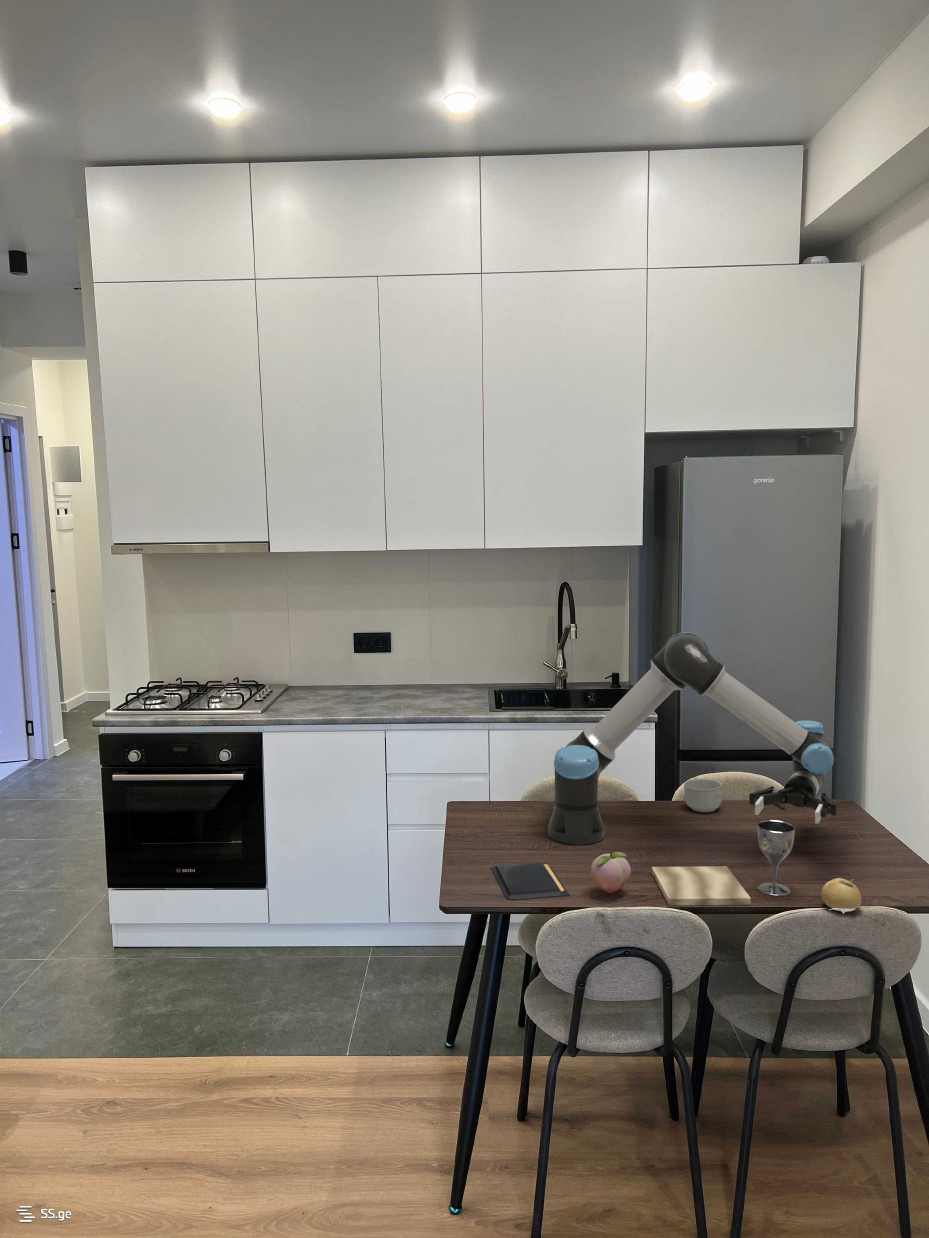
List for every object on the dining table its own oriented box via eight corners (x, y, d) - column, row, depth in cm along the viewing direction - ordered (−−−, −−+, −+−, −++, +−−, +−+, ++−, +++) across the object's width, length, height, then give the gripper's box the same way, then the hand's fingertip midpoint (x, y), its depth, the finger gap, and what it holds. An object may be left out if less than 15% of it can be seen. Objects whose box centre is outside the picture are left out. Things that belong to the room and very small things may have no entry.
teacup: (723, 816, 249) (723, 789, 248) (684, 814, 251) (684, 787, 250) (719, 801, 262) (719, 775, 262) (682, 799, 265) (682, 773, 264)
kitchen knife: (749, 791, 275) (749, 781, 275) (753, 791, 276) (753, 781, 275) (782, 808, 253) (782, 798, 253) (786, 808, 253) (786, 798, 253)
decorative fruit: (607, 881, 204) (607, 840, 203) (636, 891, 198) (636, 849, 197) (582, 893, 198) (582, 851, 197) (611, 904, 192) (611, 860, 191)
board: (668, 905, 191) (669, 898, 191) (651, 872, 209) (651, 866, 209) (750, 904, 191) (750, 898, 191) (726, 872, 209) (726, 866, 209)
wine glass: (798, 896, 195) (800, 832, 193) (762, 896, 195) (764, 832, 194) (785, 882, 203) (787, 820, 201) (751, 882, 203) (752, 820, 201)
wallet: (489, 861, 214) (550, 858, 216) (489, 869, 214) (550, 865, 216) (503, 895, 194) (570, 891, 196) (503, 903, 195) (570, 899, 196)
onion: (821, 913, 187) (822, 881, 186) (820, 898, 194) (821, 867, 193) (862, 918, 184) (863, 886, 183) (859, 903, 191) (860, 872, 191)
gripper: (853, 810, 218) (842, 837, 200) (751, 796, 231) (732, 821, 212) (854, 781, 217) (843, 805, 199) (751, 769, 230) (732, 791, 212)
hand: (786, 813), depth 206 cm, fingers open, 13 cm apart
